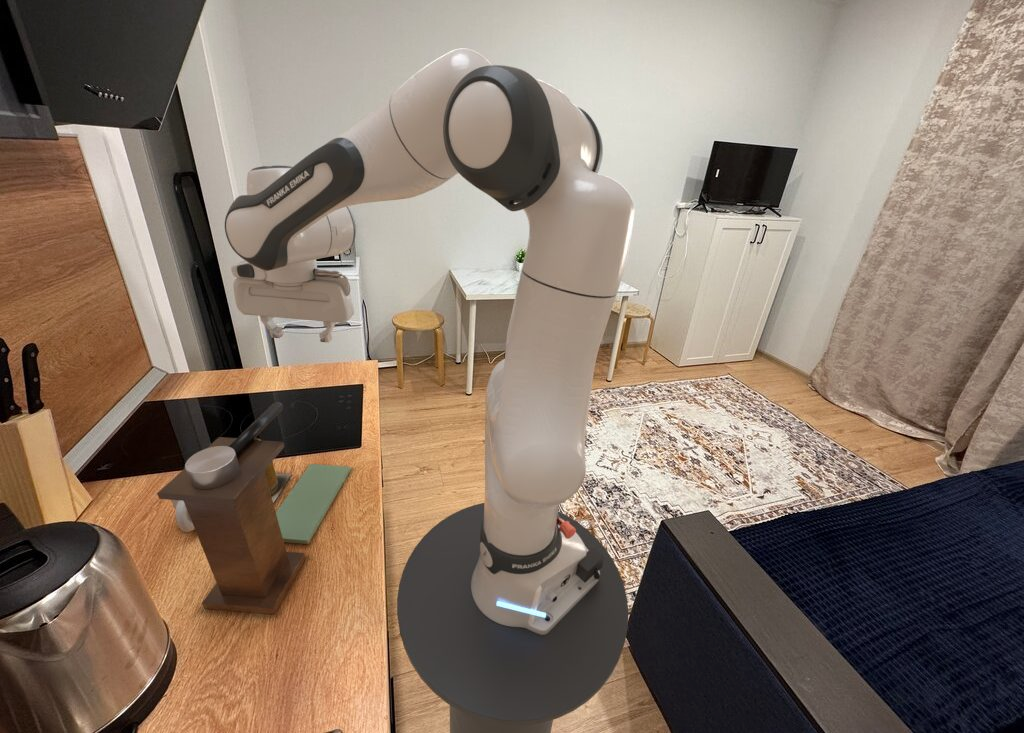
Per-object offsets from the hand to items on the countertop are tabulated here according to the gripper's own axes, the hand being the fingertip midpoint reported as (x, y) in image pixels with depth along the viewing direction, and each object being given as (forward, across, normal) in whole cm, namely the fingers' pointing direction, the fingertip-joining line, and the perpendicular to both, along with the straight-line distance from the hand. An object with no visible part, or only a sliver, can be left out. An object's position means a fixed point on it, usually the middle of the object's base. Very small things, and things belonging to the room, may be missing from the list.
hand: (301, 339), depth 79 cm
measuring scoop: (+8, -1, +22) cm, 24 cm away
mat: (+32, -2, +10) cm, 33 cm away
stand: (+32, -2, +27) cm, 42 cm away
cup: (+32, +16, +17) cm, 39 cm away
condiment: (+32, +9, +8) cm, 34 cm away
